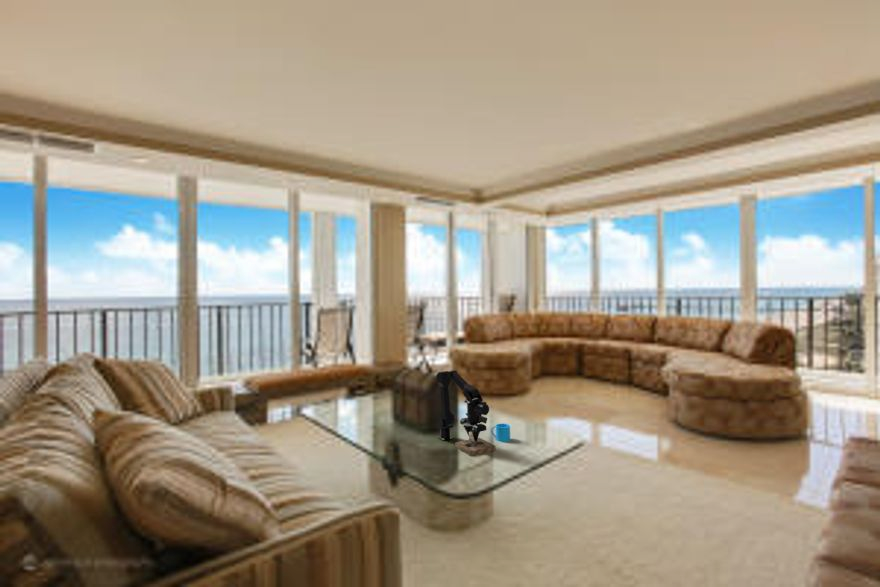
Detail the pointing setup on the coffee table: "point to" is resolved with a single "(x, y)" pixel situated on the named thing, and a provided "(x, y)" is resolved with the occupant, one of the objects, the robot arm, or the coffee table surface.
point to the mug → (502, 432)
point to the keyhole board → (475, 447)
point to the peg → (472, 439)
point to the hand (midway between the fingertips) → (473, 440)
